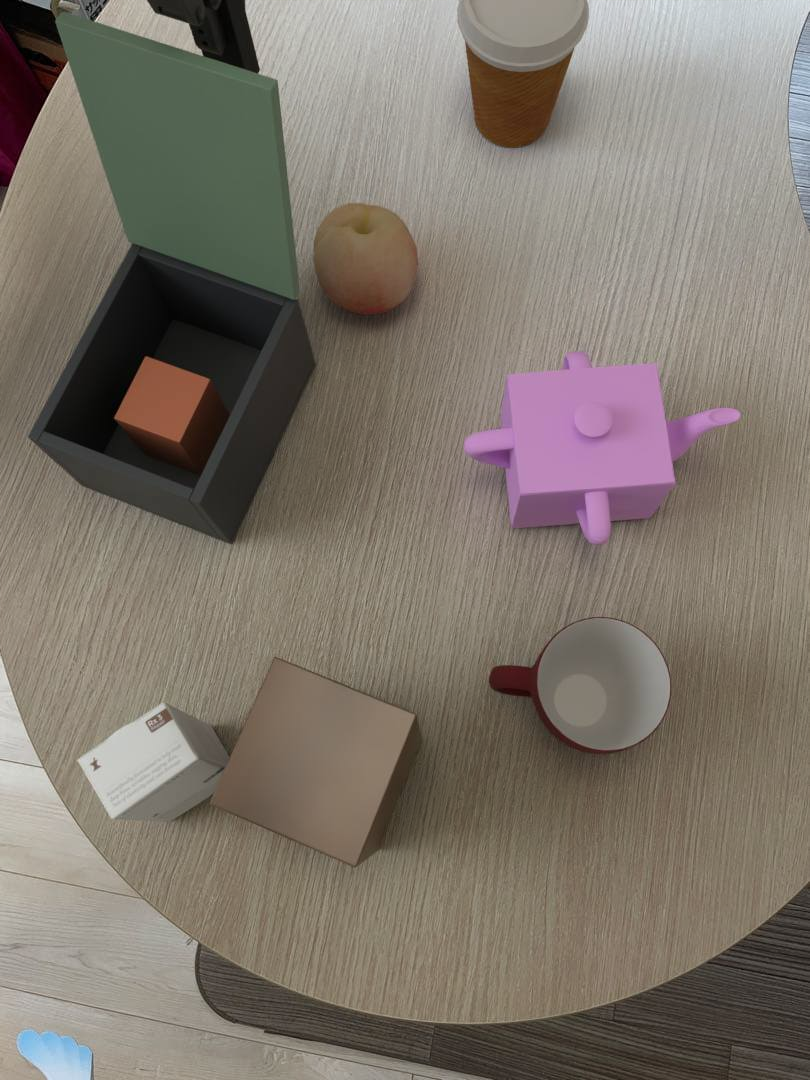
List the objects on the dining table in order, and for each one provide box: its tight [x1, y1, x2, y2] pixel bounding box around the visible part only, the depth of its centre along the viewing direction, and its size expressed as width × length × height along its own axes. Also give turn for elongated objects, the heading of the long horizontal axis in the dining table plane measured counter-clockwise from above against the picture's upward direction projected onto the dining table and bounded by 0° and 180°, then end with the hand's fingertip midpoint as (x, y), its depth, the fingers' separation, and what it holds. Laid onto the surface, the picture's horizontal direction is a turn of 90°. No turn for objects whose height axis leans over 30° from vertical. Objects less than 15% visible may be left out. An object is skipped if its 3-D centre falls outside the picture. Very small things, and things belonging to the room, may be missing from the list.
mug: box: [488, 616, 672, 755], centre depth 61 cm, size 10×8×10 cm
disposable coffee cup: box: [456, 0, 590, 148], centre depth 73 cm, size 10×10×12 cm
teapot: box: [463, 350, 741, 546], centre depth 65 cm, size 18×14×10 cm
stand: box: [209, 656, 423, 868], centre depth 56 cm, size 8×8×18 cm
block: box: [114, 356, 230, 476], centre depth 68 cm, size 5×5×7 cm
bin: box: [27, 243, 317, 545], centre depth 67 cm, size 16×13×10 cm
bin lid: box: [54, 11, 301, 300], centre depth 57 cm, size 16×13×1 cm
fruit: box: [313, 202, 419, 315], centre depth 71 cm, size 8×8×8 cm
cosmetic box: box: [77, 701, 230, 823], centre depth 59 cm, size 6×4×12 cm
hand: (234, 72), depth 57 cm, fingers closed
